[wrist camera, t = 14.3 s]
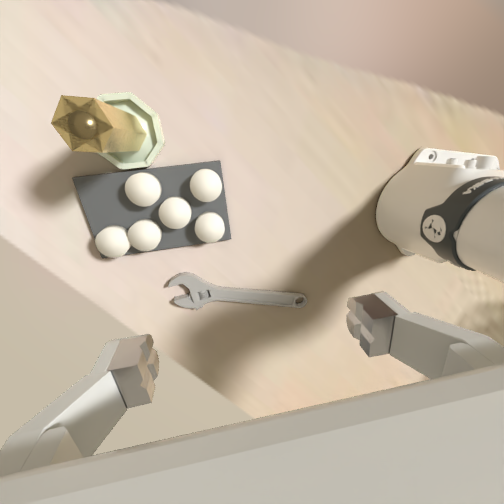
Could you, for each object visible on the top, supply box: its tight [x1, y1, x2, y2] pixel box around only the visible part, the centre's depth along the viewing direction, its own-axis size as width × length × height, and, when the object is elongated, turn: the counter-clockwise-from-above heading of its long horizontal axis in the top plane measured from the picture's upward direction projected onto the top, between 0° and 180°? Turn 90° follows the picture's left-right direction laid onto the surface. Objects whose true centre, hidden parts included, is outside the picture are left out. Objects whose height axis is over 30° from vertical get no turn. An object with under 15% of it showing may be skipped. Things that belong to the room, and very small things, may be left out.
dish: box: [96, 92, 165, 170], centre depth 33 cm, size 9×9×2 cm
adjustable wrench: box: [168, 272, 307, 310], centre depth 46 cm, size 25×6×2 cm, turn 74°
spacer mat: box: [72, 161, 231, 258], centre depth 37 cm, size 20×12×3 cm, turn 96°
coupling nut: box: [51, 95, 147, 153], centre depth 27 cm, size 4×5×13 cm
